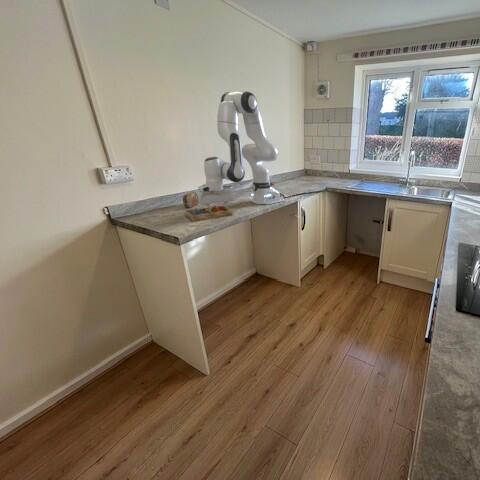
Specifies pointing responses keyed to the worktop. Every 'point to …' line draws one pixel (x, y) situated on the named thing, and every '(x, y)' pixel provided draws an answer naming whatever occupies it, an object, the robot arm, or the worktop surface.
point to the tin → (190, 199)
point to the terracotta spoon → (217, 209)
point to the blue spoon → (198, 211)
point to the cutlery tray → (208, 213)
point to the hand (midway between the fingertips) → (217, 209)
